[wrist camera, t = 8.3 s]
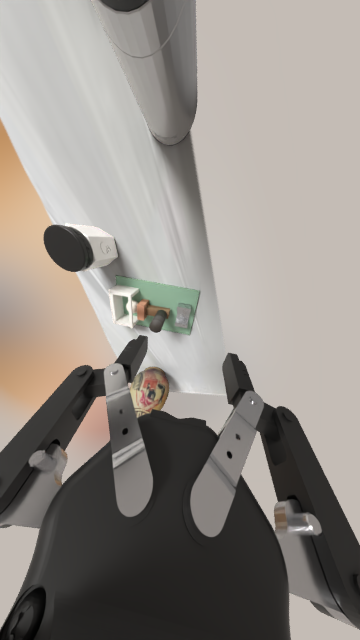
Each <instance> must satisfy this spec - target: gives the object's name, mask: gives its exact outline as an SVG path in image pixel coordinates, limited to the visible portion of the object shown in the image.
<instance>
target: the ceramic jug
mask: <svg viewBox="0 0 360 640" xmlns="http://www.w3.org/2000/svg"><path fill="white" fill-rule="evenodd" d="M130 393H131V397H132V400H133V404H134V408H135V412H136V416H137V418H138V417H139V416H141V415H144V414H147V413H151V411H152V409H155V410H159V411H160V410H161V409H162V407H163V405H164V404H165V401H166V399H167V397H168V393H169V383H168V380H167V378H166V376H165V373H164V371H163V370H162V369H160V368H158V367H149V368H146V369H145V370H144V371H142V372H140V373H139V374H138V375H137V376H136V377H135V378H134V380H133V382H132V384H131V387H130ZM110 441H111V440H110ZM110 441H109V442H110Z"/></svg>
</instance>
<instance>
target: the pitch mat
mask: <svg viewBox="0 0 360 640" xmlns="http://www.w3.org/2000/svg"><path fill="white" fill-rule="evenodd" d="M116 285H123V286H128V287H134V288H139V292H138V293H137V294H136V295H134V296H133V297H132V300H134V301H137V302H138V303H139V302H140V301H141V300H142V299H146V300H149V305H154V306H159V307H165V308H170V316H169V318H168V319H166V320H165V322H164V324H163V327H162V330H167V331H172V332H177V333H182V334H188V335H190V332H191V327H192V323H193V319H194V314H195V310H196V305H197V301H198V297H199V292H200V291H198V290H193V289H187V288H182V287H176V286H171V285H165V284H160V283H154V282H149V281H143V280H138V279H132V278H127V277H121V276H116ZM122 299H123V310H124V314H128V315H129V312H128V311H127V309H126V305H127V303H128V297H125V296H122ZM178 303H184V304H190V305H192V306H191V312H190V315H189V320H188V326H187V328H183V327H177V326H175V321H176V316H177V306H178ZM133 316H137V313H133ZM153 318H154V316H150V315H148V316H147V317H146V319H145V320H144V321H142V320H139V321H138V322H137V323H136V325H141V326H146V327H149V325H150V323H151V321H152V320H153Z"/></svg>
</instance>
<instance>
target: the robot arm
mask: <svg viewBox="0 0 360 640" xmlns="http://www.w3.org/2000/svg"><path fill="white" fill-rule="evenodd" d="M91 2H92V4H93V6H94V9H95V11H96V13H97V15H98V17H99V19H100V21H101V24H102V26H103V28H104V30H105V32H106V35H107V37H108V39H109V41H110V43H111V46H112V48H113V50H114V52H115V54H116V56H117V59H118V61H119V63H120V65H121V67H122V70H123V72H124V74H125V76H126V78H127V81H128V83H129V85H130V87H131V89H132V92H133V94H134V96H135V98H136V100H137V102H138V105H139V107H140V109H141V111H142V114H143V116H144V118H145V120H146V122H147V125H148V127H149V129H150V131H151V132H152V134H153V136H154V137H155V138H156V139H157V140H158V141H160V142H161V143H163V144H166V145H174V144H177V143H178V142H180V141H181V140H183V138H184V137H185V136H186V135H187V134H188V132H189V130H190V129H191V126H192V123H193V121H194V118H195V114H196V108H197V48H196V0H91ZM147 347H148V337H147V336H142V335H139V337H138V338H137V340H135V339H133V340H131V341H130V342H129V343H128V344H127V346H126V347H125V349H124V350H123V351H122V353H121V354H120V356H119V357H118V359H117V360H116V361H115V363H114V364H111V365H109V366H108V367H106V368H105V369H95V370H93V369H92V367H91V366H88V365H84V366H80V367H78V368H76V369H75V370H73V371H72V372H71V374H70V375H69V376H68V377H67V378H66V379H65V380H64V381H63V383H62V384H61V385H60V386H59V387H58V388H57V389H56V391H55V392H54V393H53V394H52V395H51V396H50V397H49V399H48V400H47V401H46V402H45V403H44V404H43V405H42V406H41V407H40V409H39V410H38V411H37V412H36V413H35V414H34V415H33V416H32V418H31V419H30V420H29V421H28V422H27V423H26V424H25V425H24V427H23V428H22V429H21V430H20V431H19V432H18V433H17V435H16V436H15V437H14V438H13V439H12V440H11V441H10V442H9V444H8V445H7V446H6V447H5V448H4V449H3V450H2V451H1V453H0V528H7V527H9V526H12V525H17V526H24V527H32V528H40V530H39V535H38V539H37V543H36V547H35V551H34V554H33V558H32V561H31V564H30V566H29V569H28V572H27V575H26V577H25V580H24V582H23V585H22V587H21V590H20V592H19V594H18V597H17V598H16V601H15V603H14V605H13V607H12V609H11V611H10V613H9V614H8V617H7V618H6V620H5V622H4V624H3V626H2V627H1V629H0V640H291V638H290V626H289V593H292V594H294V595H297V596H299V597H302V598H305V599H307V600H310V602H311V603H312V604H313V605H314V607H316V608H317V609H318V610H319V611H320V612H322V613H324V614H326V615H328V616H331V617H333V618H335V619H337V620H340V621H342V622H344V623H346V624H348V625H351V626H353V627H355V628H357V629H359V630H360V545H359V543H358V541H357V539H356V537H355V535H354V533H353V531H352V529H351V527H350V525H349V522H348V520H347V518H346V516H345V514H344V512H343V510H342V508H341V506H340V504H339V502H338V500H337V498H336V496H335V494H334V492H333V490H332V488H331V486H330V484H329V482H328V480H327V478H326V476H325V474H324V472H323V470H322V468H321V466H320V464H319V462H318V460H317V458H316V456H315V454H314V452H313V450H312V448H311V446H310V443H309V442H308V439H307V437H306V435H305V434H304V431H303V429H302V427H301V426H300V423H299V421H298V419H297V418H296V416H295V415H294V414H293V413H292V412H291V411H290V410H289V409H287V408H285V407H282V406H279V407H277V408H274V407H272V406H270V405H268V404H266V403H264V402H263V400H262V399H261V397H260V396H259V395H258V394H257V393H255V391H254V388H253V385H252V382H251V380H250V377H249V374H248V372H247V369H246V366H245V365H244V363H243V362H242V361H239V359H238V356H237V355H236V354H232V353H228V354H227V356H226V358H225V361H224V363H223V367H222V369H223V375H224V381H225V387H226V393H227V399H228V404H232V405H233V406H234V409H233V410H232V412H231V414H230V416H229V417H228V419H227V420H226V422H225V424H224V425H223V427H222V429H221V430H220V432H219V434H218V435H217V434H216V433H215V432H214V431H213V430H212V429H211V428H209V427H208V426H206V421H205V420H201V419H196V418H185V419H177V418H175V417H174V416H172V415H170V414H168V413H166V412H164V411H159V410H155V409H152V411H151V413H147V414H144V415H141V416H139V417H138V418H137V416H136V412H135V408H134V404H133V400H132V397H131V393H130V389H129V388H128V382H129V383H132V382H133V380H134V378H135V376H136V374H137V372H138V370H139V368H140V365H141V363H142V361H143V359H144V357H145V355H146V352H147ZM100 396H106V404H107V413H108V420H109V421H108V422H109V431H110V440H111V441H110V442H108V443H107V444H106V445H105V446H104V447H103V448H102V449H101V450H99V451H98V453H96V454H95V455H94V456H93V457H91V458H90V459H89V460H88V461H87V462H86V463H85V464H84V465H82V466H81V467H80V468H79V469H78V470H77V471H76V472H74V473H73V474H72V475H71V476H70V477H69V478H68V479H67V480H66V481H65V483H64V484H63V485H62V482H61V479H62V474H63V471H64V469H65V466H66V463H67V454H66V452H65V449H66V448H67V446H68V444H69V442H70V441H71V439H72V437H73V435H74V434H75V432H76V431H77V429H78V427H79V426H80V424H81V422H82V421H83V419H84V417H85V415H86V413H87V412H88V410H89V409H90V407H91V405H92V404H93V402H94V400H95V399H96V397H100ZM257 431H259V432H260V435H261V439H262V443H263V446H264V450H265V454H266V458H267V461H268V466H269V469H270V473H271V476H272V481H273V484H274V488H275V492H276V496H277V500H278V502H277V503H276V505H275V508H274V517H275V525H276V527H275V532H274V530H273V528H272V526H271V524H270V523H269V521H268V519H267V517H266V516H265V514H264V512H263V511H262V509H261V507H260V505H259V504H258V502H257V500H256V499H255V497H254V495H253V494H252V492H251V490H250V489H249V487H248V485H247V483H246V482H245V480H244V478H243V477H242V475H241V472H242V469H243V467H244V464H245V461H246V459H247V456H248V454H249V451H250V448H251V445H252V443H253V440H254V438H255V435H256V432H257Z"/></svg>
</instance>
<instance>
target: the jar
mask: <svg viewBox="0 0 360 640" xmlns="http://www.w3.org/2000/svg"><path fill="white" fill-rule="evenodd" d="M44 244H45V247H46V250H47V252H48V254H49V255H50V257H51V258H52V259H53V261H54V262H55V263H56V264H57V265H59V266H60V267H62V268H63V269H65V270H67V271H71V272H77V271H83V272H84V271H88V270H92V269H95V268H99V267H103V266H106V265H108V264H110V263H111V262H112V261H113V260H114V259H116V258H117V257H118V254H117V249H116V245H115V240H114V237H113V236H111V235H109V234H108V233H106V232H104V231H103V230H101V229H99V228H98V227H93V226H85V225H77V224H68V223H65V225H64V226H63V225H51V226H49V227H48V228H47V229H46V230H45V232H44Z"/></svg>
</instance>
